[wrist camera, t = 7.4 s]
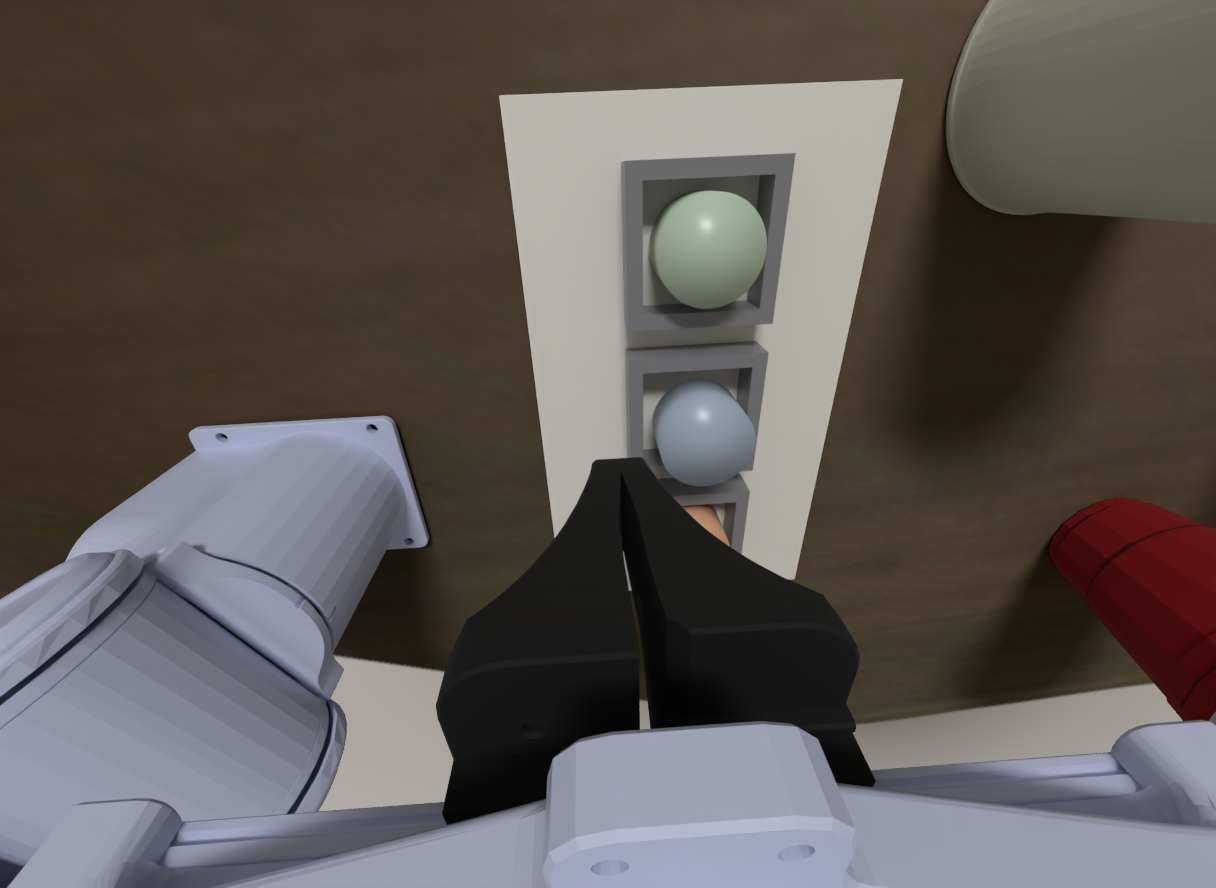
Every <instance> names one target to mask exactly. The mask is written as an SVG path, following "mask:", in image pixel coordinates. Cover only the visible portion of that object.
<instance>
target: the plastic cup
mask: <svg viewBox="0 0 1216 888" xmlns="http://www.w3.org/2000/svg"><path fill="white" fill-rule="evenodd" d="M1048 551H1049V554H1050V557H1051V560H1052V562H1053V563H1054V564H1055V565H1056V567H1057V570H1058V571H1059V572H1060V573H1061V574H1062V576H1063V577H1064V578H1065V579H1066V580H1067V581H1068V582H1069V583H1070V584H1071V585H1072V587H1073V588H1074V589H1075V590H1076V591H1077V592H1078V593H1079V594H1080V595H1081V597H1082V598H1083V599H1084V600H1085V601H1086V602H1087V603H1088V605H1089V608H1090V609H1091V611H1092V612H1093V613H1094V614H1095V615H1096V616H1097V618H1098V619H1099V620H1100V621H1101V622H1102V623H1103V624H1104V626H1105V627H1106V628H1107V629H1108V630H1109V631H1110V633H1111V634H1112V635H1113V636H1114V637H1115V638H1116V640H1117V641H1118V642H1119V643H1120V644H1121V645H1122V646H1123V648H1124V649H1125V650H1126V651H1127V652H1128V653H1129V655H1130V656H1131V657H1132V658H1133V659H1134V660H1135V662H1136V663H1137V664H1138V665H1139V666H1140V667H1141V668H1142V670H1143V671H1144V672H1145V673H1146V674H1147V675H1148V677H1149V678H1150V679H1151V680H1152V681H1153V682H1154V684H1155V685H1156V686H1157V687H1158V688H1159V689H1160V690H1161V692H1162V693H1163V694H1164V695H1165V696H1166V697H1167V702H1168V703H1169V704H1170V705H1171V707H1172V708H1173V709H1174V710H1175V711H1176V713H1177V714H1178V715H1179V716H1180V717H1181V719H1182V720H1183V721H1194V720H1205V721H1209V722H1212V723H1213V724H1214V725H1215V726H1216V528H1214V527H1209V526H1204V525H1202V524H1199V523H1197V522H1194V521H1192V520H1190V519H1187V518H1185V517H1182V516H1180V515H1178V514H1175V513H1173V512H1170V511H1168V510H1165V509H1163V508H1161V507H1158V506H1156V505H1153V504H1151V503H1144V502H1141V501H1139V500H1136V499H1128V498H1116V499H1111V500H1106V501H1102V502H1099V503H1097V504H1095V505H1092V506H1090V507H1088V508H1086V509H1084V510H1082V511H1080V512H1079V513H1077V514H1076V515H1075V516H1073V517H1072V518H1071V519H1069V520H1068V521H1067V522H1065V523H1064V524H1063V525H1062V527H1061V528H1060V529H1059V530H1058V531H1057V533H1056V534H1055V535H1054V536H1053V538H1052V541H1051V544H1050V547H1049V550H1048Z"/></svg>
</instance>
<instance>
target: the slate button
mask: <svg viewBox="0 0 1216 888" xmlns="http://www.w3.org/2000/svg"><path fill="white" fill-rule="evenodd" d="M652 425H653V431H654V435H655V438H656V442H657V445H658V449H659V452H660V455H661V459H662V462H663V464H664V466H665V468H666V470H667V471H668V472H669V473H670V474H671V475H672V476H673V477H674V478H675V479H677V480H678V481H680V482H682V483H685V484H688V485H692V486H711V485H716V484H719V483H722V482H725V481H727V480H729V479H730V478H732V477H734V476H735V475H736V474H738V473H739V472H740V471H741V470H742V469H743V468H744V467H745V466H746V465H747V463H748V462H749V460H750V459H751V457H752V455H753V452H754V449H755V444H756V434H755V430H754V427H753V424H752V422H751V421H750V419H749V418H748V416H747V415H746V414H745V412H744V411H743V409H742V408H741V407H740V405H739V404H738V402H737V401H736V399H735V398H734V397H733V395H732V394H731V393H730V392H729V390H728V389H726V388H725V387H724V386H722V385H721V384H719V383H716V382H714V381H710V380H704V379H697V380H690V381H686V382H683V383H681V384H679V385H677V386H675V387H673V388H672V389H670V390H669V391H668V392H667V393H665V395H664V396H663V397H662V398H661V399H660V401H659V402H658V404H657V406H656V408H655V410H654V414H653V420H652Z"/></svg>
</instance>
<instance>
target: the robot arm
mask: <svg viewBox="0 0 1216 888" xmlns="http://www.w3.org/2000/svg"><path fill="white" fill-rule="evenodd" d="M370 424H373V425H375V426H376V427H377V428H378V430H373V429H372V428H371V427H370ZM221 433H222V434H224V435H226V436H227V438H228V439H227V438H225V437H223V435H222V434H221ZM189 438H190V440H191V442H192V444H193V446H194V448H195V449H196V451H195V452H194V453H192V454H191V455H189V456H188V457H187V458H185V459H184V460H182V461H181V462H179V463H178V464H177V465H175V466H174V467H172V468H171V469H170V470H168V471H167V472H165V473H164V474H163V475H161V476H160V477H158V478H157V479H156V480H154V481H153V482H151V483H150V484H149V485H147V486H146V487H144V488H143V489H142V490H140V491H139V492H137V493H136V494H134V495H133V496H132V497H130V498H129V499H127V500H126V501H125V502H123V503H122V504H120V505H119V506H118V507H116V508H115V509H113V510H112V511H111V512H109V513H108V514H106V515H105V516H104V517H102V518H101V519H99V520H98V521H97V522H95V523H94V524H93V525H92V526H91V527H90V528H89V529H87V530H86V531H85V532H84V534H83V535H82V536H81V537H80V538H79V539H78V541H77V542H76V543H75V545H74V546H73V548H72V550H71V551H70V553H69V555H68V557H67V559H66V561H65V562H63V563H62V564H60V565H58V566H56V567H54V568H52V569H50V570H49V571H47V572H45V573H43V574H42V575H40V576H38V577H37V578H35V579H33V580H31V581H30V582H28V583H26V584H25V585H23V586H22V587H20V588H18V589H17V590H15V591H13V592H12V593H10V594H9V595H7V596H5V597H4V598H2V599H1V600H0V888H1216V726H1215V725H1214V724H1213V723H1212V722H1209V721H1205V720H1194V721H1181V722H1168V723H1154V724H1146V725H1141V726H1137V727H1135V728H1133V729H1130V730H1128V731H1127V732H1125V733H1124V734H1123V735H1122V736H1121V737H1120V738H1119V739H1118V740H1117V741H1116V742H1115V744H1114V745H1113V747H1112V750H1111V752H1108V753H1095V754H1081V755H1070V756H1069V755H1068V756H1055V757H1041V758H1028V759H1014V760H1001V761H988V762H975V763H961V764H948V765H935V766H921V767H909V768H908V767H907V768H894V769H881V770H870V768H869V766H868V764H867V762H866V760H865V758H864V756H863V754H862V752H861V749H860V747H859V745H858V743H857V741H856V739H855V737H854V735H853V733H852V732H855V729H856V724H855V721H854V719H853V717H852V715H851V713H850V711H849V709H848V707H847V705H846V701H847V699H848V696H849V693H850V690H851V687H852V685H853V682H854V679H855V676H856V673H857V671H858V666H859V660H860V655H859V652H858V648H857V645H856V643H855V641H854V640H853V638H852V636H851V635H850V633H849V631H848V629H847V628H846V626H845V625H844V623H843V622H842V620H841V619H840V617H839V616H838V614H837V613H836V611H835V610H834V609H833V608H832V606H831V605H830V604H829V602H828V601H827V600H826V598H825V597H824V595H822V594H820V593H818V592H815V591H813V590H811V589H809V588H806V587H804V586H802V585H799V584H797V583H795V582H793V581H790V580H788V579H786V578H784V577H781V576H779V575H778V574H776V573H774V572H772V571H770V570H768V569H766V568H764V567H762V566H760V565H759V564H757V563H755V562H753V561H752V560H750V559H748V558H747V557H745V556H743V555H742V554H740V553H739V552H737V551H736V550H734V549H733V548H731V547H730V546H728V545H727V544H725V543H724V542H722V541H721V540H719V539H718V538H717V537H715V536H714V535H713V534H712V533H710V532H709V531H708V530H707V529H705V528H704V527H703V526H702V525H701V524H700V523H698V522H697V521H696V520H695V519H694V518H693V517H692V516H691V515H690V514H689V513H688V512H687V511H686V510H685V509H684V508H683V507H682V506H681V505H680V504H679V503H678V502H677V501H676V500H675V499H674V498H673V496H672V495H671V494H670V493H669V492H668V491H667V490H666V488H665V487H664V486H663V485H662V484H661V482H660V481H659V480H658V479H657V477H656V476H655V475H654V473H653V472H652V470H651V469H650V468H649V466H648V465H647V463H646V461H645V460H644V459H643V458H642V457H633V458H616V459H599V460H595V461H594V462H593V463H592V467H591V471H590V474H589V477H588V480H587V483H586V485H585V487H584V490H583V492H582V494H581V496H580V498H579V500H578V502H577V504H576V506H575V508H574V509H573V511H572V513H571V514H570V516H569V518H568V519H567V521H566V523H565V524H564V526H563V527H562V529H561V530H560V532H559V533H558V535H557V536H556V537H555V539H554V540H553V541H552V543H551V544H550V545H549V546H548V548H547V549H546V550H545V551H544V552H543V554H542V555H541V556H540V557H539V558H538V559H537V561H536V562H535V563H534V564H533V565H532V566H531V567H530V568H529V569H528V570H527V571H526V572H525V573H524V574H523V575H522V576H521V577H520V578H519V579H518V580H517V581H516V582H514V583H513V584H512V585H511V586H510V587H509V588H508V589H507V590H506V591H505V592H504V593H502V594H501V595H500V596H499V597H497V598H496V599H495V600H493V601H492V602H491V603H489V604H488V605H487V606H485V607H484V608H482V609H481V610H480V611H478V612H477V613H476V614H474V615H473V616H471V617H470V618H468V619H467V620H466V622H465V624H464V626H463V628H462V630H461V632H460V634H459V637H458V639H457V641H456V643H455V646H454V648H453V650H452V653H451V655H450V658H449V660H448V663H447V666H446V669H445V673H444V677H443V681H442V684H441V688H440V692H439V696H438V700H437V703H436V709H437V715H438V720H439V722H440V725H441V728H442V730H443V733H444V736H445V738H446V741H447V744H448V746H449V749H450V751H451V754H452V757H453V759H454V761H453V766H452V770H451V775H450V779H449V784H448V789H447V793H446V798H445V802H440V803H427V804H414V805H399V806H386V807H373V808H361V809H360V808H359V809H348V810H333V811H319V809H320V807H321V806H322V804H323V802H324V800H325V798H326V796H327V794H328V792H329V790H330V788H331V785H332V783H333V781H334V778H335V775H336V773H337V770H338V766H339V763H340V760H341V757H342V753H343V750H344V745H345V740H346V732H347V729H346V727H347V723H346V718H345V714H344V712H343V710H342V709H341V707H340V706H339V705H338V704H337V703H336V702H334V701H333V700H331V699H330V698H331V696H332V694H333V691H334V690H335V687H336V685H337V683H338V681H339V679H340V677H341V675H342V673H343V670H344V669H343V667H342V666H341V665H340V664H339V663H337V661H336V660H335V658H334V656H333V652H334V650H335V648H336V646H337V644H338V642H339V640H340V638H341V636H342V635H343V633H344V631H345V629H346V627H347V625H348V623H349V621H350V619H351V617H352V615H353V613H354V611H355V609H356V608H357V606H358V604H359V602H360V600H361V598H362V596H363V594H364V592H365V590H366V588H367V586H368V584H369V582H370V581H371V579H372V577H373V575H374V573H375V571H376V569H377V567H378V565H379V563H380V561H381V559H382V557H383V555H384V554H385V552H386V550H389V549H404V548H420V547H424V546H426V545H427V543H428V541H429V534H428V531H427V528H426V524H425V521H424V518H423V514H422V511H421V507H420V504H419V501H418V497H417V494H416V491H415V487H414V484H413V481H412V477H411V474H410V470H409V467H408V464H407V460H406V457H405V454H404V450H403V447H402V444H401V440H400V437H399V433H398V430H397V427H396V424H395V422H394V421H393V420H392V419H391V418H389V417H387V416H370V417H353V418H336V419H319V420H302V421H285V422H268V423H251V424H234V425H217V426H200V427H196V428H195V429H193V430H192V431H191V432H190V433H189ZM407 538H411V539H412V540H413V541H411V540H408V539H407ZM623 551H624V556H625V561H626V566H627V570H628V575H629V580H630V585H631V589H632V594H633V599H634V603H635V608H636V613H637V618H638V623H639V629H640V635H641V643H642V652H643V661H644V670H645V680H646V689H647V698H648V708H649V717H650V727H651V729H644V730H640V718H639V717H640V715H639V653H638V644H637V635H636V627H635V621H634V616H633V611H632V606H631V600H630V595H629V589H628V583H627V576H626V570H625V564H624V556H623ZM318 811H319V812H318Z"/></svg>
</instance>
